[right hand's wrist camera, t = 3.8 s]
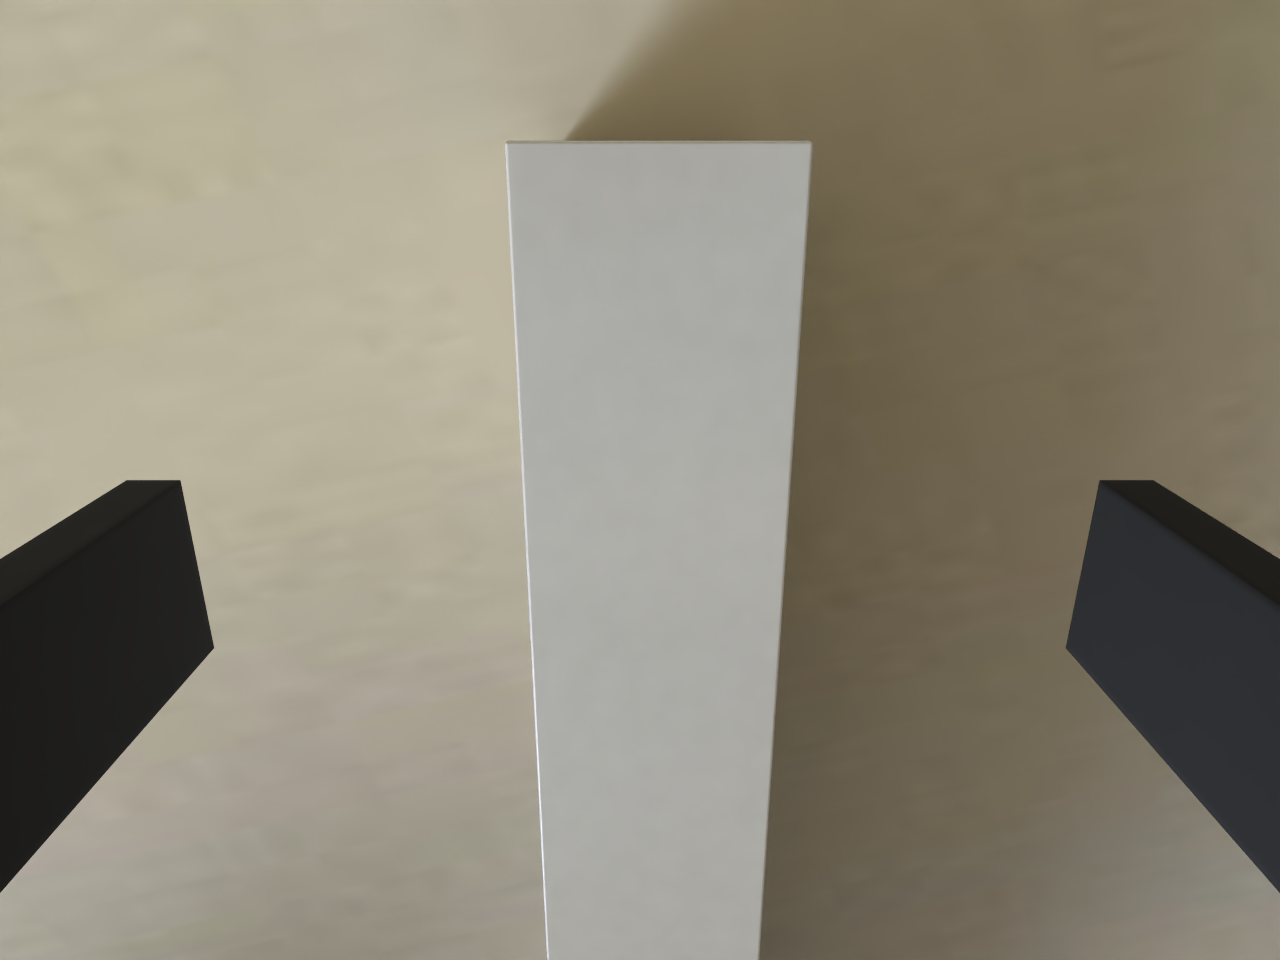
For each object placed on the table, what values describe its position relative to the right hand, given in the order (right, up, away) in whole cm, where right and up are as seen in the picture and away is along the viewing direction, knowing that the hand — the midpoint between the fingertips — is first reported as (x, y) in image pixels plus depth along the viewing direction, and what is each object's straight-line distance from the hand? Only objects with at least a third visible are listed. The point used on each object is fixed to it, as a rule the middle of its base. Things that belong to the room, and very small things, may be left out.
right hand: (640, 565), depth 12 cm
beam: (0, -17, +19) cm, 25 cm away
